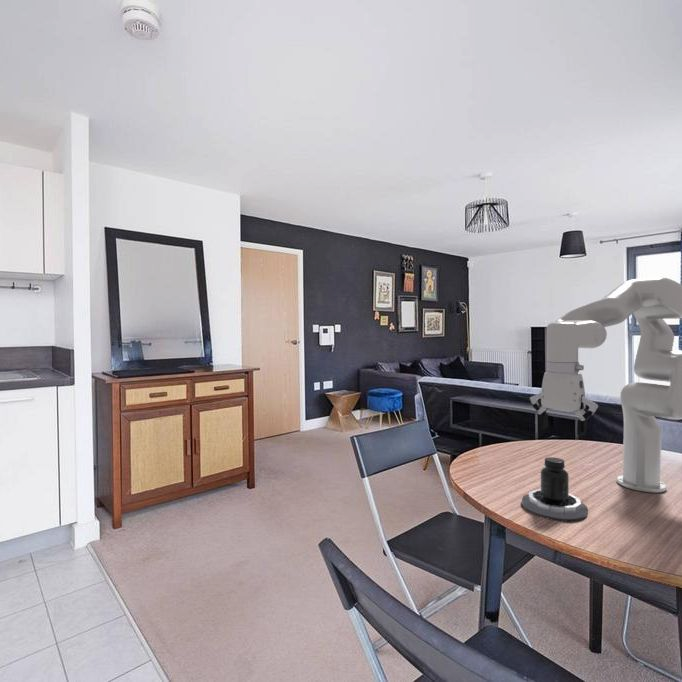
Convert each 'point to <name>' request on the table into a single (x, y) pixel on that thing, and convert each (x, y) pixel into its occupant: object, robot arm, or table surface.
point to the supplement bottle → (554, 482)
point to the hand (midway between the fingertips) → (562, 431)
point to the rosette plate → (554, 515)
